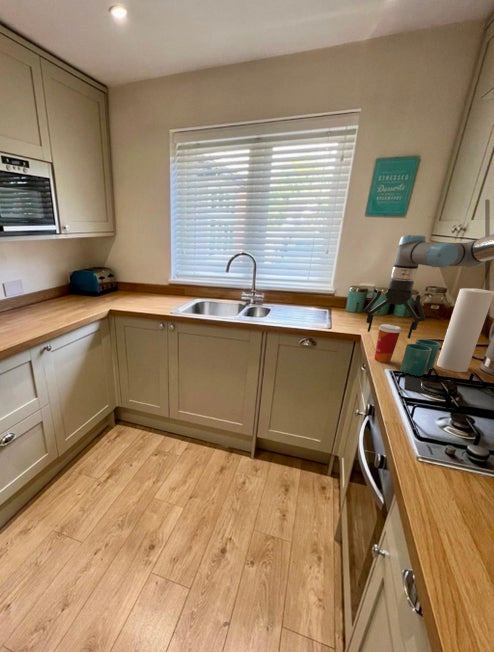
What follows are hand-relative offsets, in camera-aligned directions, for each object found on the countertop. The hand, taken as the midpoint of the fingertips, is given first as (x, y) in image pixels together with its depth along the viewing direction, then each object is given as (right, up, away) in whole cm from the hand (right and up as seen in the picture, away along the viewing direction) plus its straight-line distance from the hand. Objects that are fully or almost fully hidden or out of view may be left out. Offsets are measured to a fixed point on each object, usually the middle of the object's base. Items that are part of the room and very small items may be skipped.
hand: (388, 334), depth 129 cm
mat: (+1, -19, -19) cm, 27 cm away
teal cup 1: (+4, -15, -8) cm, 17 cm away
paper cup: (0, -10, +4) cm, 11 cm away
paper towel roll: (+23, -13, -2) cm, 27 cm away
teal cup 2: (+11, -13, -2) cm, 17 cm away
